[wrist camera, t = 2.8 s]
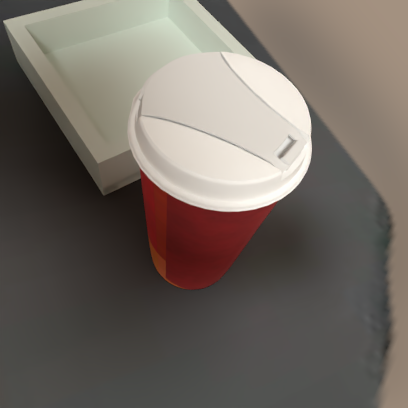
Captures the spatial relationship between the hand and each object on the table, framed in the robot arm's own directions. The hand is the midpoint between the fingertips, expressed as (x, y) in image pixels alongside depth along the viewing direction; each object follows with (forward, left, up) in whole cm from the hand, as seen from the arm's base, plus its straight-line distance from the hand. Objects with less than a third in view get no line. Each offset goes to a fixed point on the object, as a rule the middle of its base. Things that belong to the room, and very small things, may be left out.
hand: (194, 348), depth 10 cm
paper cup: (-7, +6, -15) cm, 17 cm away
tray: (-22, +11, -14) cm, 28 cm away
